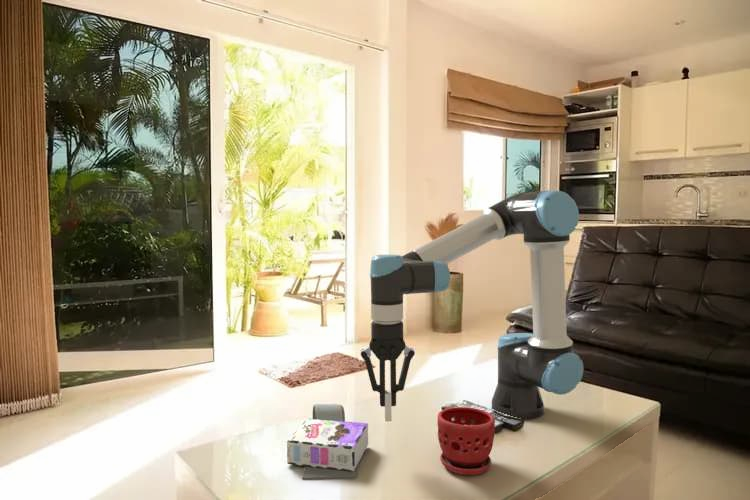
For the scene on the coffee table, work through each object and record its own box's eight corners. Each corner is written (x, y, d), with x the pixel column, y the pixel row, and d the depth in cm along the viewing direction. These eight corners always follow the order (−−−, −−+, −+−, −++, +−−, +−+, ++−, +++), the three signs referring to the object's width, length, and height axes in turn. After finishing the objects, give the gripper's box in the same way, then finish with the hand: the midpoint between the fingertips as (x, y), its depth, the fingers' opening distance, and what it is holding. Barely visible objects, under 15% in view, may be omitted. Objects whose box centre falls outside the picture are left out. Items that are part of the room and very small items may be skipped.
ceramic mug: (346, 435, 133) (345, 407, 133) (315, 439, 131) (315, 410, 131) (338, 420, 144) (338, 394, 143) (310, 423, 142) (309, 397, 141)
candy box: (354, 447, 113) (285, 440, 116) (355, 472, 113) (286, 465, 116) (368, 422, 126) (306, 417, 130) (368, 445, 127) (306, 439, 130)
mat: (357, 445, 127) (357, 444, 127) (356, 478, 111) (356, 476, 111) (309, 446, 127) (309, 445, 127) (302, 479, 111) (302, 477, 111)
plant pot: (505, 474, 113) (505, 422, 112) (451, 483, 109) (452, 429, 108) (477, 449, 125) (477, 402, 124) (428, 456, 121) (428, 408, 121)
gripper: (413, 317, 121) (413, 412, 123) (359, 318, 121) (360, 413, 122) (416, 323, 114) (417, 425, 115) (359, 324, 113) (360, 426, 115)
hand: (388, 419), depth 119 cm, fingers closed
